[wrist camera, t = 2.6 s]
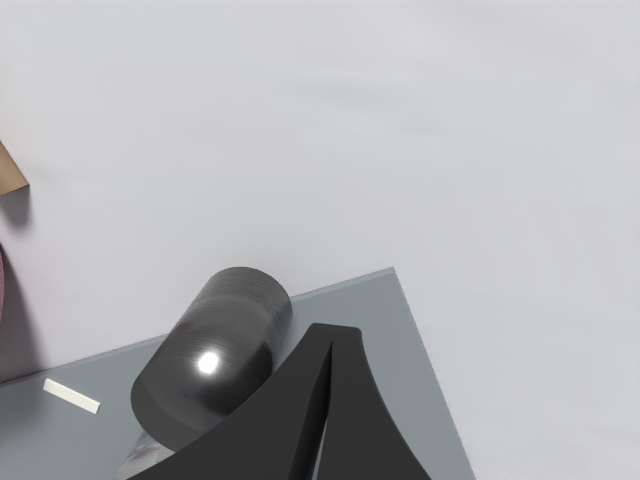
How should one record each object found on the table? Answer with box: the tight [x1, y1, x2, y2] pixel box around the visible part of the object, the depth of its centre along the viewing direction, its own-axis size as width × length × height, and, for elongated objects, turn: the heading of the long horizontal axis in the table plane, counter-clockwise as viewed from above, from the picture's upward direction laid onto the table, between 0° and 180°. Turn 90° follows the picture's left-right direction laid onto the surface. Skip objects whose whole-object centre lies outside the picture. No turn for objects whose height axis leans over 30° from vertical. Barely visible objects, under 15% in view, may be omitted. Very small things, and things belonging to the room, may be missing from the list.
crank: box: [113, 267, 293, 480], centre depth 15 cm, size 13×4×5 cm, turn 157°
